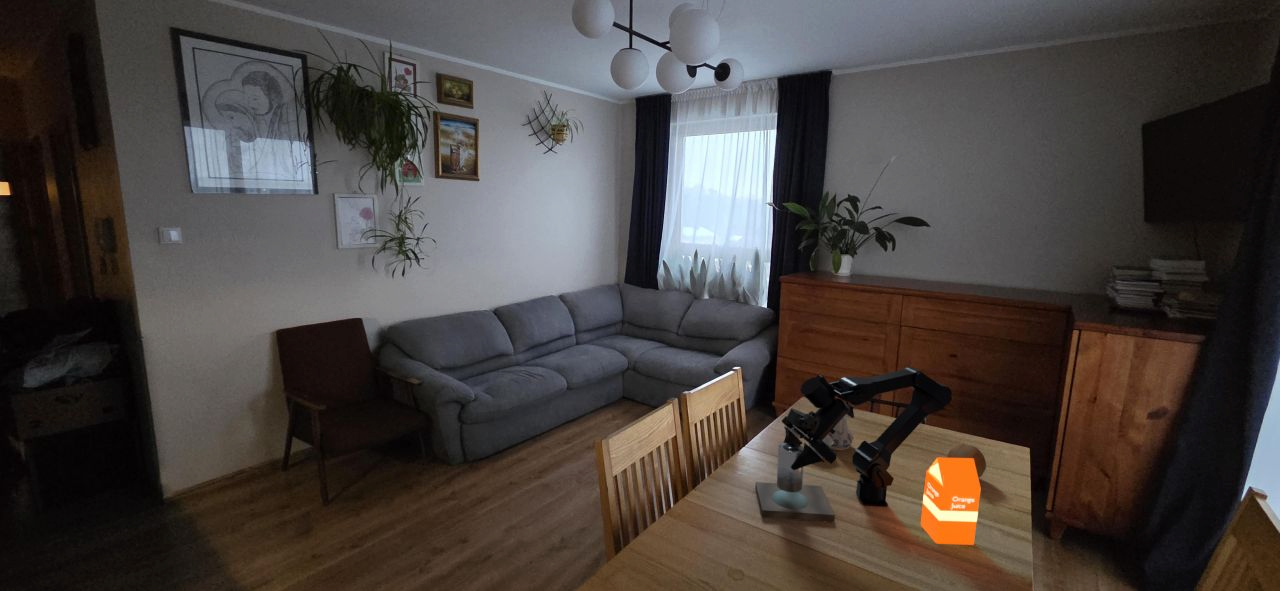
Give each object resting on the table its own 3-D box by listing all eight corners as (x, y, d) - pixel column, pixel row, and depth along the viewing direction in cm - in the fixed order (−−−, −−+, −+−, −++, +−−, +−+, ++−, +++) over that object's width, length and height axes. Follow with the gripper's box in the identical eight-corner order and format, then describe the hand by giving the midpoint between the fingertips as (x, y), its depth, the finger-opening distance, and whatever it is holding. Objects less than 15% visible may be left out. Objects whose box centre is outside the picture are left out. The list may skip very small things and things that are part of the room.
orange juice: (919, 524, 130) (928, 449, 126) (955, 525, 129) (964, 450, 126) (936, 544, 122) (945, 465, 119) (974, 545, 122) (984, 466, 118)
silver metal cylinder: (803, 481, 136) (804, 444, 134) (801, 494, 130) (803, 454, 129) (778, 477, 138) (779, 440, 137) (775, 489, 133) (777, 450, 131)
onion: (951, 483, 150) (955, 450, 148) (941, 467, 159) (944, 436, 158) (989, 488, 147) (993, 455, 146) (976, 471, 157) (980, 440, 155)
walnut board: (820, 492, 144) (821, 485, 143) (834, 522, 130) (835, 514, 130) (755, 488, 146) (755, 481, 145) (762, 517, 132) (762, 509, 131)
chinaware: (794, 430, 189) (792, 386, 187) (841, 428, 187) (839, 384, 185) (811, 466, 162) (809, 416, 160) (866, 465, 160) (865, 414, 158)
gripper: (789, 387, 140) (750, 429, 140) (828, 413, 122) (783, 461, 122) (814, 412, 143) (776, 453, 143) (855, 440, 125) (812, 488, 125)
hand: (785, 462), depth 133 cm, fingers closed on silver metal cylinder, 6 cm apart
